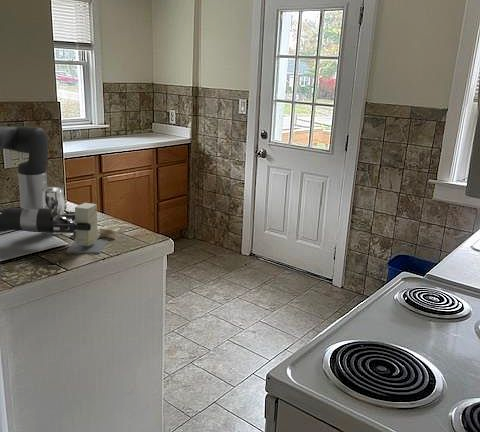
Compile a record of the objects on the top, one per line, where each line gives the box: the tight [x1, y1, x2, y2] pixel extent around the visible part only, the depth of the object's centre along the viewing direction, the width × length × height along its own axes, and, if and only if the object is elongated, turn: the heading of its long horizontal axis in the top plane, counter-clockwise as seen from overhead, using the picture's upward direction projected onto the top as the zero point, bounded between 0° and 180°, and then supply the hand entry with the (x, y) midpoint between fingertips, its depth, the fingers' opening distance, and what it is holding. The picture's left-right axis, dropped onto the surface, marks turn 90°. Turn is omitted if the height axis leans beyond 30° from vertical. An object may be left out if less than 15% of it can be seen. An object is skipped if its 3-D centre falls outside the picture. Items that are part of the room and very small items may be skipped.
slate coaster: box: [66, 238, 107, 255], centre depth 153 cm, size 10×10×1 cm
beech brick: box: [99, 225, 122, 240], centre depth 163 cm, size 6×3×3 cm, turn 71°
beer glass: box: [42, 186, 66, 236], centre depth 162 cm, size 7×7×15 cm
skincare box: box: [74, 202, 99, 246], centre depth 151 cm, size 6×4×12 cm
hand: (93, 223), depth 151 cm, fingers closed on skincare box, 7 cm apart
